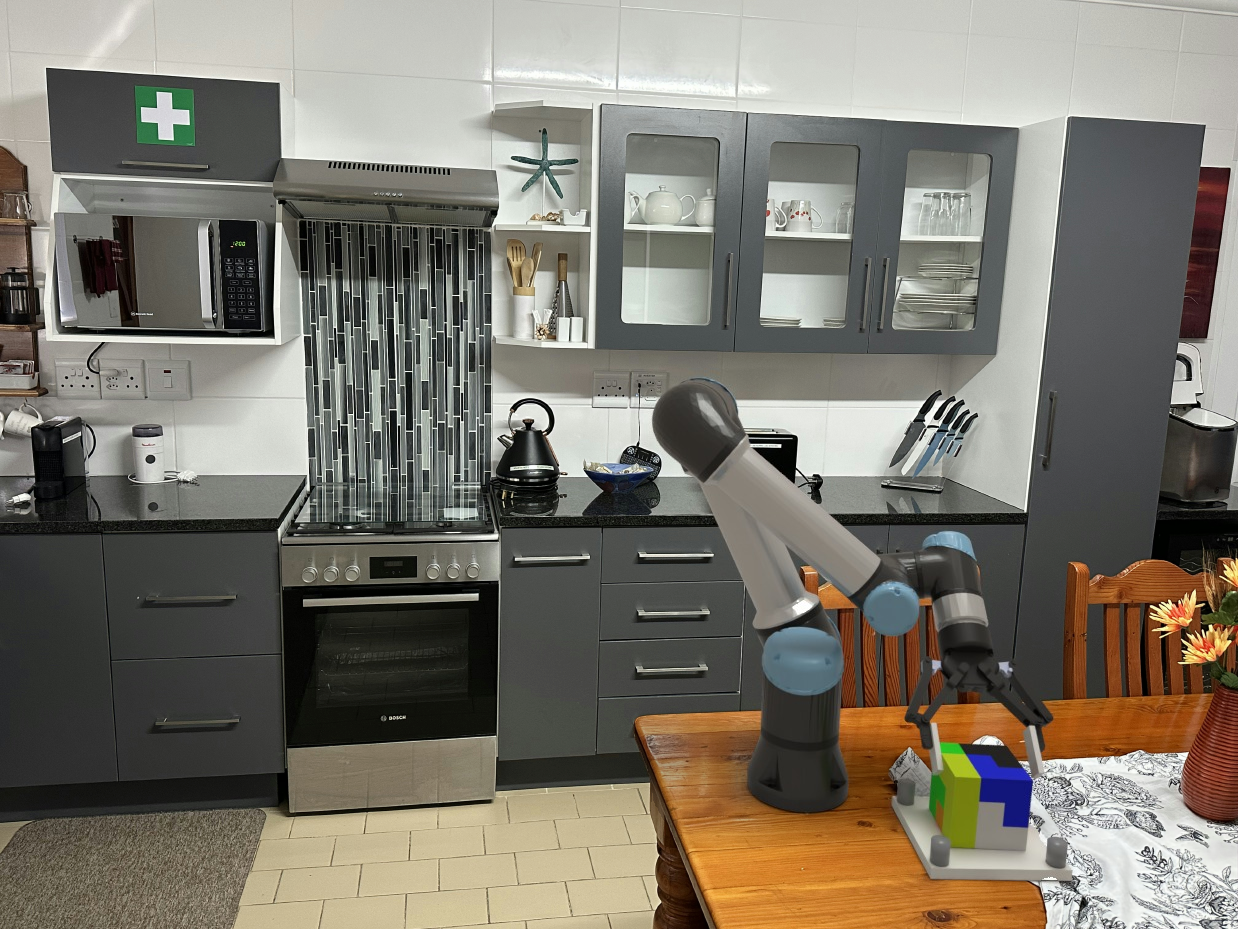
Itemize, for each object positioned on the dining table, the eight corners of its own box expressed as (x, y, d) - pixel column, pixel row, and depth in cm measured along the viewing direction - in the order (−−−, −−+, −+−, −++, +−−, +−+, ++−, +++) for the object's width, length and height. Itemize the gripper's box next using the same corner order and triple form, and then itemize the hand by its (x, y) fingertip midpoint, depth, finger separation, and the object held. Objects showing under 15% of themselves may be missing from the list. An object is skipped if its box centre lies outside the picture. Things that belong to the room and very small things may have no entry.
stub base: (930, 879, 121) (933, 846, 120) (891, 805, 139) (893, 777, 138) (1071, 881, 121) (1074, 848, 120) (1014, 807, 139) (1016, 778, 138)
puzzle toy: (1025, 851, 125) (1033, 780, 123) (949, 847, 125) (955, 777, 124) (999, 811, 135) (1006, 745, 133) (928, 807, 135) (934, 742, 134)
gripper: (1037, 642, 144) (1069, 784, 133) (873, 637, 145) (890, 778, 133) (1056, 622, 138) (1091, 769, 126) (884, 617, 139) (903, 763, 127)
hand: (988, 774), depth 130 cm, fingers open, 13 cm apart
